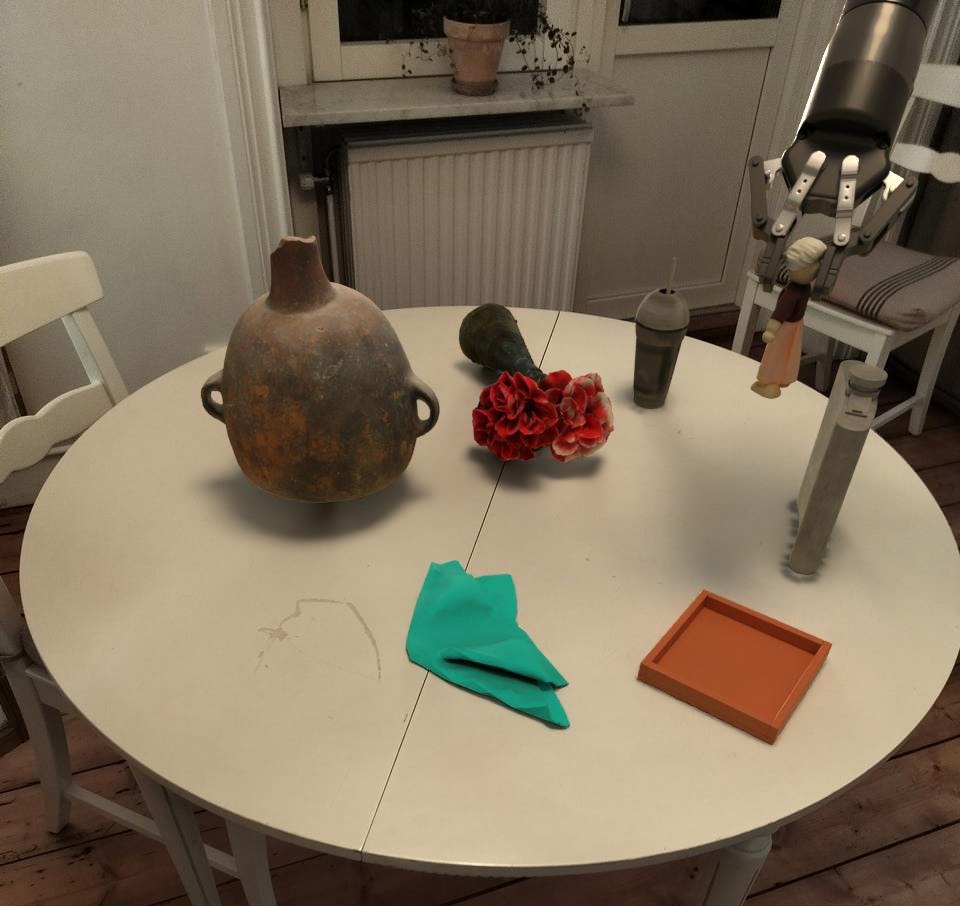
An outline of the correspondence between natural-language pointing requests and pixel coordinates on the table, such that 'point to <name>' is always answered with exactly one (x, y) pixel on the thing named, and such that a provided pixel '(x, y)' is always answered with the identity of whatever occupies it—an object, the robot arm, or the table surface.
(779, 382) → the grandmother figurine
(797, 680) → the figure tray
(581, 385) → the carnation
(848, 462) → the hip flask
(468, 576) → the cloth
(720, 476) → the table surface
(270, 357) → the jug
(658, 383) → the beverage cup
